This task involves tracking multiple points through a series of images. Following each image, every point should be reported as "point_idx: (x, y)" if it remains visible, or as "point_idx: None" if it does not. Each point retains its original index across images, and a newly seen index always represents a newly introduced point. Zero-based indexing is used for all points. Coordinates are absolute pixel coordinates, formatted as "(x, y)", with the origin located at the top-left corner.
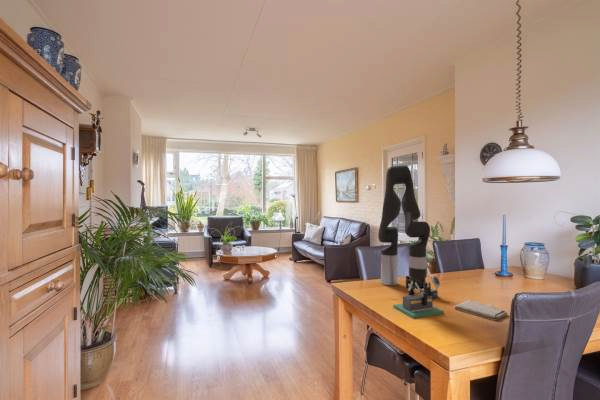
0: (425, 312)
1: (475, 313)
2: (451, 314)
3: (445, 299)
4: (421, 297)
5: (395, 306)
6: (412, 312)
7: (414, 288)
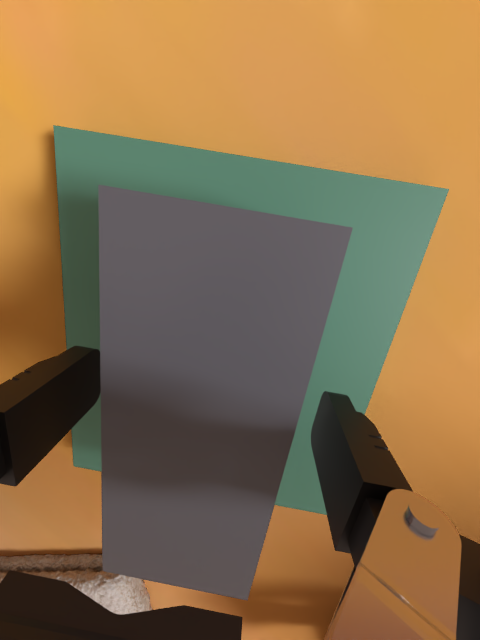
0: (89, 322)
1: (10, 568)
2: (63, 475)
3: (289, 637)
4: (125, 453)
5: (396, 181)
6: None
7: (329, 626)
